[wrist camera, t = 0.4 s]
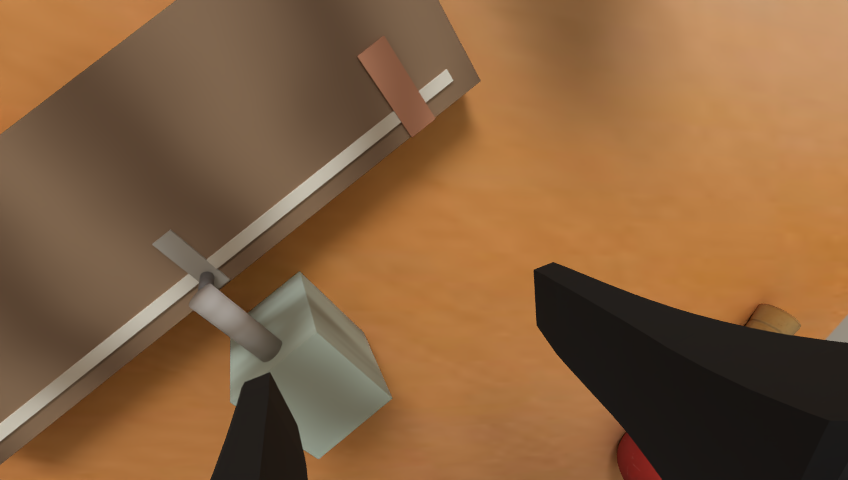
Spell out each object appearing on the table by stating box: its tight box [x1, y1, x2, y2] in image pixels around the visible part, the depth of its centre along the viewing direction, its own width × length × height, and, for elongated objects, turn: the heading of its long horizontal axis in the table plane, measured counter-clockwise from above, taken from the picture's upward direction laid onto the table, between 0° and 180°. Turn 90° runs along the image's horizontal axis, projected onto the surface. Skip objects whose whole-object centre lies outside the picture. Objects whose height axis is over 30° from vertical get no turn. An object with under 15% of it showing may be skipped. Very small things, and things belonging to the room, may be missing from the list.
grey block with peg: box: [189, 271, 392, 459], centre depth 19 cm, size 4×8×5 cm, turn 34°
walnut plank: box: [0, 0, 480, 464], centre depth 16 cm, size 24×8×2 cm, turn 124°
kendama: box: [617, 304, 801, 480], centre depth 35 cm, size 8×6×18 cm
